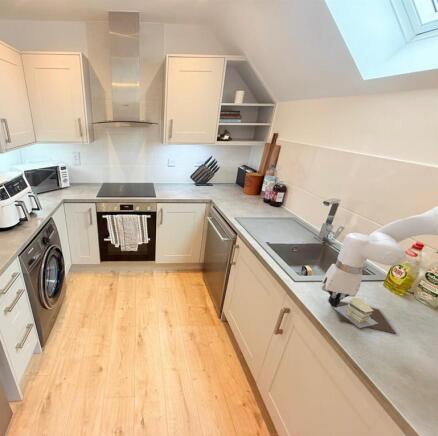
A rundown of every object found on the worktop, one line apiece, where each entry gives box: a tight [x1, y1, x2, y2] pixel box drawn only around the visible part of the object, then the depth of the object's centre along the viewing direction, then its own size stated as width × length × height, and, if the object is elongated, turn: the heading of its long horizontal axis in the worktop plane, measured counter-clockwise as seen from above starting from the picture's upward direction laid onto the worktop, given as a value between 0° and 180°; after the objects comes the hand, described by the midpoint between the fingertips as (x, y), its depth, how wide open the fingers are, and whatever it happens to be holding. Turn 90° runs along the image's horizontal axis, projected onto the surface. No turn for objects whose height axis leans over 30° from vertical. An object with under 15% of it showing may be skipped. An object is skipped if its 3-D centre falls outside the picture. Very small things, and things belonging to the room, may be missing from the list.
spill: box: [334, 301, 396, 334], centre depth 91 cm, size 16×12×1 cm
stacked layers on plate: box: [333, 297, 378, 329], centre depth 90 cm, size 10×9×6 cm
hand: (332, 304), depth 93 cm, fingers closed
